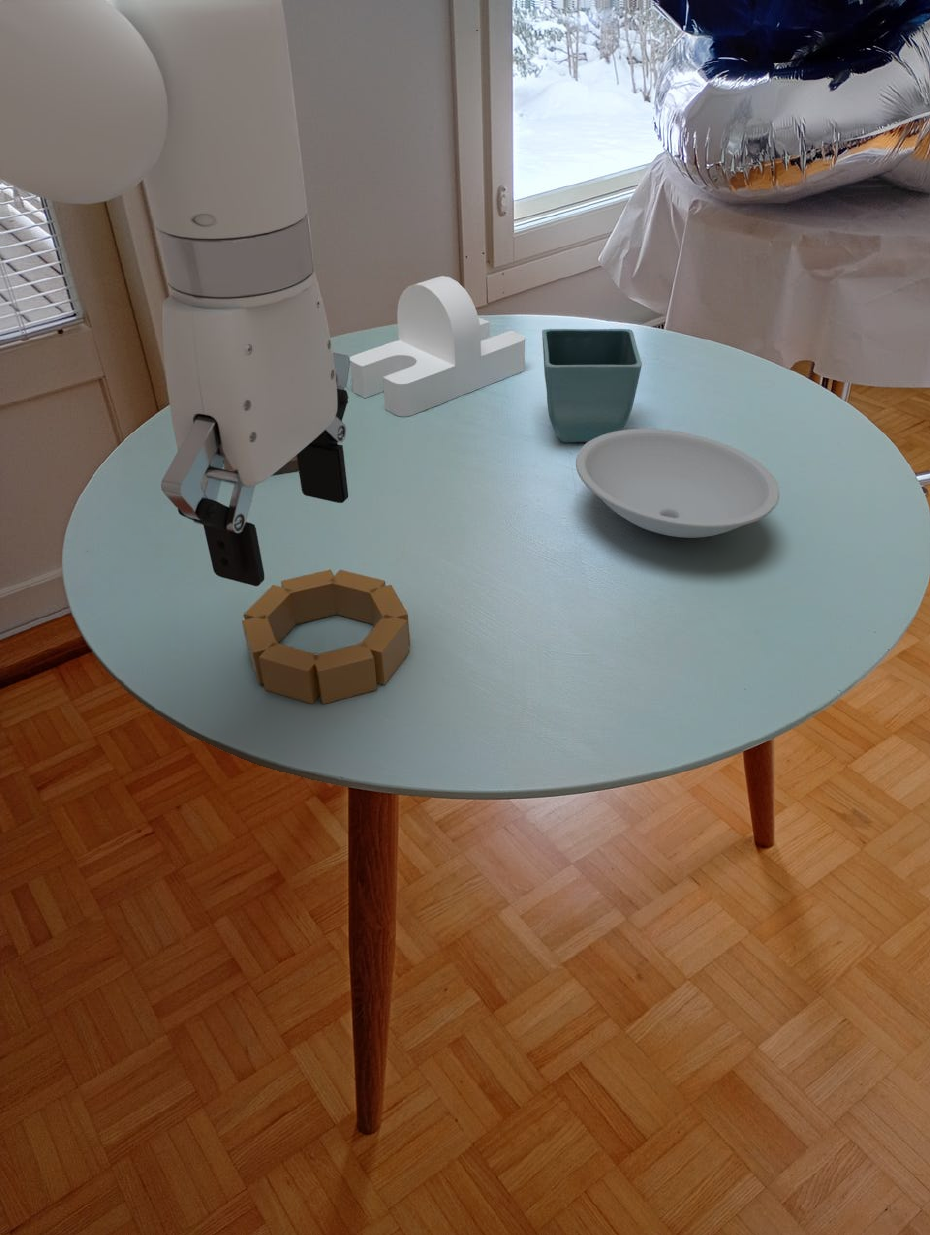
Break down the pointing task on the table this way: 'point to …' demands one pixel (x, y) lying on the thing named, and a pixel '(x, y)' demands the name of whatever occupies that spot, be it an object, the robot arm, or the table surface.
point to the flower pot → (590, 380)
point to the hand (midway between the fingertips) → (285, 535)
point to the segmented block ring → (333, 669)
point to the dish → (677, 481)
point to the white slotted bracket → (436, 351)
